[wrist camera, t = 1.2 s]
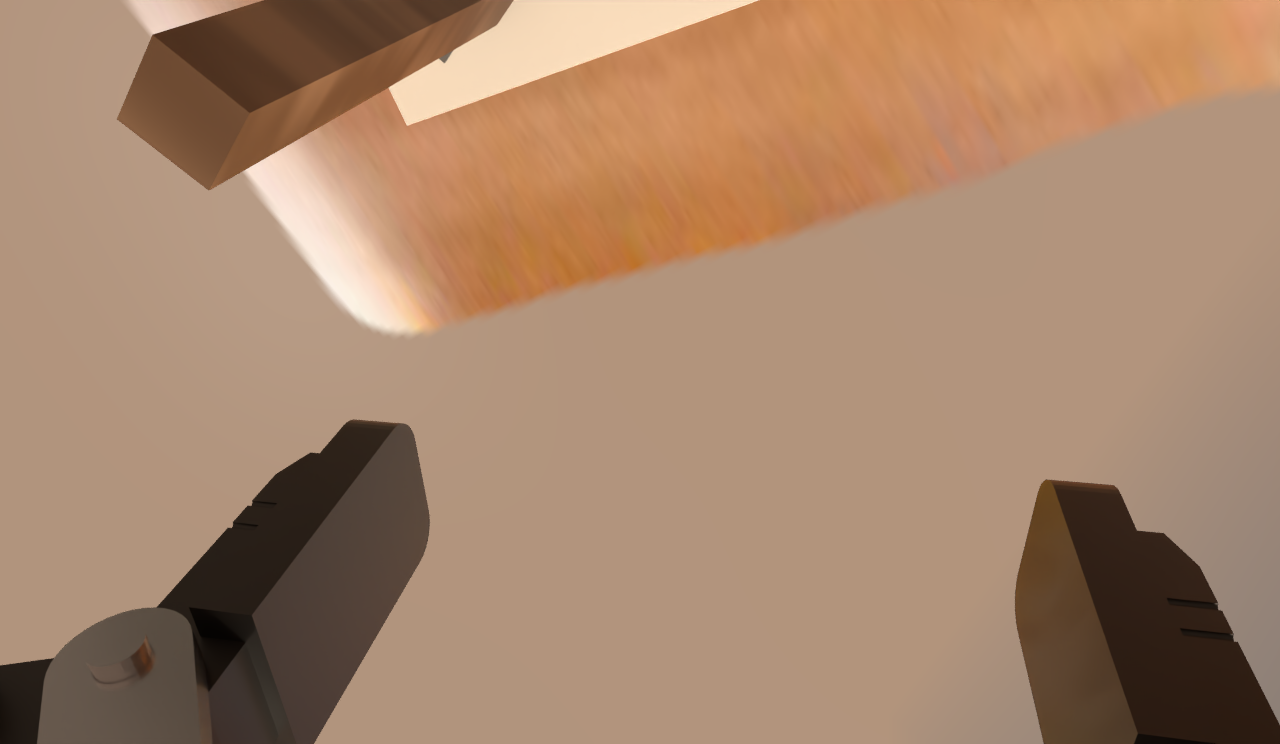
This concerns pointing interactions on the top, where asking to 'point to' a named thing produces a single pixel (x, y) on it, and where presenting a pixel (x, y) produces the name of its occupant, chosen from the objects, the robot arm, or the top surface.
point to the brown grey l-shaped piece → (283, 73)
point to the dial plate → (542, 47)
